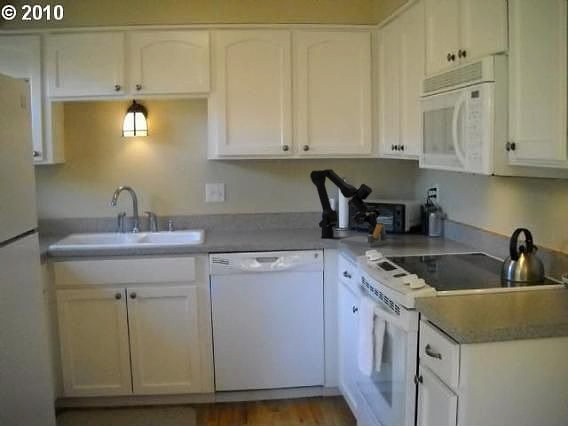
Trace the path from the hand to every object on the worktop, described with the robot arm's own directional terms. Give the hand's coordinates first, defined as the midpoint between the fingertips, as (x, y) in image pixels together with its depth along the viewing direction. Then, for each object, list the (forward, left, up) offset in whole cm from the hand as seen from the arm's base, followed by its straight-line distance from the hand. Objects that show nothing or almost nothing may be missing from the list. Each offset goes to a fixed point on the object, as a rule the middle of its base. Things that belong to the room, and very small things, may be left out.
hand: (376, 227), depth 294 cm
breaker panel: (-7, +4, -9) cm, 13 cm away
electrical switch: (-3, +24, -9) cm, 26 cm away
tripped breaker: (-1, +1, -6) cm, 6 cm away
